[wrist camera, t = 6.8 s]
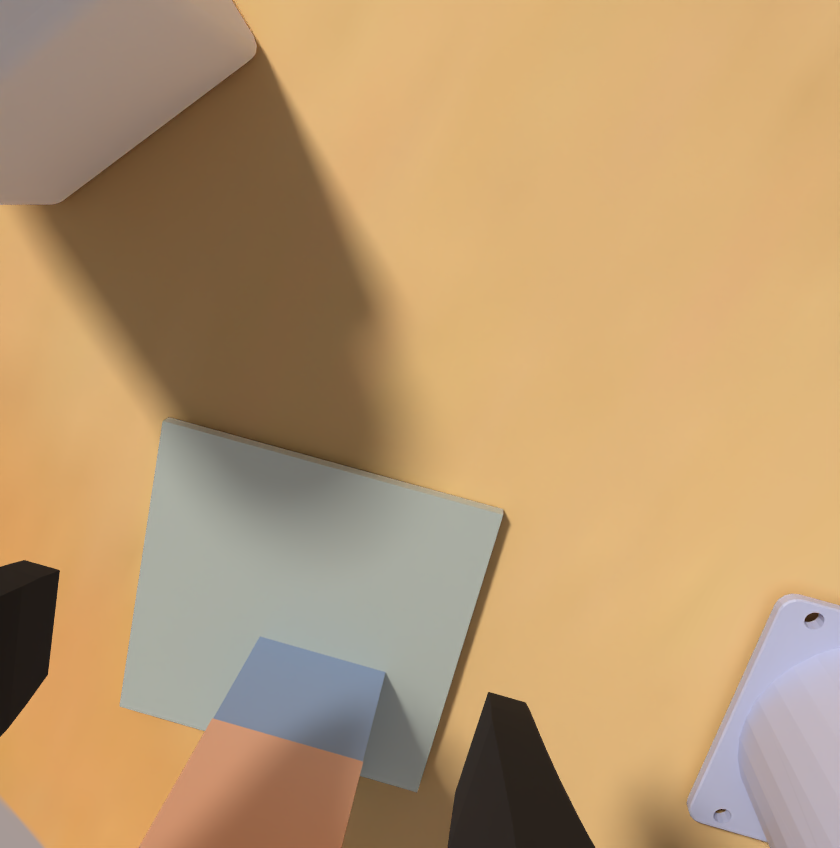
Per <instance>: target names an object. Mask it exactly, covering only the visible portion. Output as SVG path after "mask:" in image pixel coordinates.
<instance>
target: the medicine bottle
mask: <svg viewBox="0 0 840 848" xmlns="http://www.w3.org/2000/svg"><path fill="white" fill-rule="evenodd" d="M256 49H257V45H256V42H255V38H254V36H253V34H252V32H251V31H250V29H249V28H248V26H247V24H246V23H245V21H244V19H243V18H242V16H241V14H240V13H239V11H238V10H237V8H236V6H235V5H234V3H233V1H232V0H0V205H54V204H57V203H60V202H62V201H63V200H65V199H66V198H67V197H69V196H70V195H71V194H73V193H74V192H75V191H77V190H78V189H79V188H81V187H82V186H83V185H85V184H86V183H87V182H89V181H90V180H91V179H93V178H94V177H95V176H97V175H98V174H99V173H101V172H102V171H103V170H105V169H106V168H107V167H109V166H110V165H111V164H113V163H114V162H115V161H116V160H118V159H119V158H120V157H122V156H123V155H124V154H126V153H127V152H128V151H130V150H131V149H132V148H134V147H135V146H136V145H138V144H139V143H140V142H142V141H143V140H144V139H146V138H147V137H148V136H150V135H151V134H152V133H154V132H155V131H156V130H158V129H159V128H160V127H162V126H163V125H164V124H166V123H167V122H168V121H170V120H171V119H172V118H174V117H175V116H176V115H178V114H179V113H180V112H182V111H183V110H184V109H186V108H187V107H188V106H190V105H191V104H192V103H194V102H195V101H196V100H198V99H199V98H200V97H202V96H203V95H204V94H206V93H207V92H208V91H210V90H211V89H212V88H214V87H215V86H216V85H218V84H219V83H220V82H222V81H223V80H224V79H226V78H227V77H228V76H230V75H231V74H232V73H234V72H235V71H236V70H238V69H239V68H240V67H242V66H243V65H244V64H246V63H247V62H248V61H250V60H251V59H252V58H253V57H254V55H255V54H256Z"/></svg>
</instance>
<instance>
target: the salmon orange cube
mask: <svg viewBox="0 0 840 848" xmlns="http://www.w3.org/2000/svg"><path fill="white" fill-rule="evenodd" d="M362 765H363V761H360V760H356V759H353V758H349V757H346V756H342V755H339V754H335V753H332V752H328V751H325V750H321V749H318V748H314V747H311V746H307V745H304V744H300V743H297V742H293V741H290V740H286V739H283V738H279V737H276V736H273V735H269V734H266V733H262V732H259V731H255V730H252V729H248V728H245V727H241V726H238V725H234V724H231V723H227V722H224V721H220V720H217V719H213V718H212V720H211V721H210V723H209V725H208V727H207V728H206V730H205V732H204V734H203V735H202V737H201V739H200V741H199V742H198V744H197V746H196V748H195V749H194V751H193V753H192V755H191V756H190V758H189V760H188V762H187V764H186V765H185V767H184V769H183V771H182V772H181V774H180V776H179V778H178V779H177V781H176V783H175V785H174V786H173V788H172V790H171V792H170V793H169V795H168V797H167V799H166V800H165V802H164V804H163V806H162V807H161V809H160V811H159V813H158V814H157V816H156V818H155V820H154V821H153V823H152V825H151V827H150V828H149V830H148V832H147V834H146V835H145V837H144V839H143V841H142V842H141V844H140V846H139V848H341V847H342V843H343V840H344V836H345V832H346V828H347V824H348V820H349V816H350V812H351V808H352V804H353V800H354V796H355V792H356V788H357V784H358V781H359V777H360V773H361V769H362Z"/></svg>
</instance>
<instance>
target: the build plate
mask: <svg viewBox="0 0 840 848" xmlns="http://www.w3.org/2000/svg"><path fill="white" fill-rule="evenodd" d="M502 517H503V509H500V508H497V507H493V506H489V505H486V504H482V503H479V502H475V501H471V500H468V499H464V498H460V497H457V496H453V495H450V494H446V493H442V492H439V491H435V490H431V489H428V488H424V487H421V486H417V485H413V484H410V483H406V482H402V481H399V480H395V479H392V478H388V477H384V476H381V475H377V474H373V473H370V472H366V471H363V470H359V469H355V468H352V467H348V466H344V465H341V464H337V463H334V462H330V461H326V460H323V459H319V458H315V457H312V456H308V455H304V454H301V453H297V452H294V451H290V450H286V449H283V448H279V447H275V446H272V445H268V444H265V443H261V442H257V441H254V440H250V439H246V438H243V437H239V436H236V435H232V434H228V433H225V432H221V431H217V430H214V429H210V428H207V427H203V426H199V425H196V424H192V423H188V422H185V421H181V420H178V419H174V418H170V417H168V418H167V419H165V420H163V423H162V429H161V436H160V443H159V449H158V456H157V462H156V469H155V476H154V482H153V489H152V495H151V502H150V509H149V515H148V522H147V528H146V535H145V542H144V548H143V555H142V561H141V568H140V575H139V581H138V588H137V595H136V601H135V608H134V614H133V621H132V628H131V634H130V641H129V647H128V654H127V661H126V667H125V674H124V680H123V687H122V694H121V700H120V707H123V708H127V709H130V710H134V711H137V712H141V713H144V714H148V715H151V716H155V717H158V718H161V719H165V720H168V721H172V722H175V723H179V724H182V725H186V726H189V727H193V728H196V729H199V730H203V731H205V730H206V728H207V727H208V725H209V723H210V721H211V720H212V718H214V716H215V714H216V713H217V711H218V709H219V707H220V706H221V704H222V702H223V700H224V699H225V697H226V695H227V693H228V691H229V690H230V688H231V686H232V684H233V683H234V681H235V679H236V677H237V676H238V674H239V672H240V670H241V669H242V667H243V665H244V663H245V662H246V660H247V658H248V656H249V655H250V653H251V651H252V649H253V647H254V646H255V644H256V642H257V640H258V639H259V637H264V638H267V639H271V640H274V641H278V642H281V643H285V644H288V645H292V646H295V647H299V648H302V649H306V650H310V651H313V652H317V653H320V654H324V655H327V656H331V657H334V658H338V659H341V660H345V661H348V662H352V663H355V664H359V665H362V666H366V667H369V668H373V669H376V670H380V671H383V672H385V676H384V680H383V684H382V688H381V692H380V696H379V700H378V704H377V707H376V711H375V715H374V719H373V723H372V727H371V731H370V735H369V739H368V743H367V747H366V751H365V754H364V758H363V765H362V769H361V773H360V776H362V777H365V778H369V779H372V780H376V781H379V782H383V783H386V784H390V785H393V786H396V787H400V788H403V789H407V790H410V791H414V792H417V791H418V788H419V785H420V782H421V779H422V775H423V772H424V769H425V766H426V762H427V759H428V756H429V753H430V750H431V746H432V743H433V740H434V737H435V733H436V730H437V727H438V724H439V721H440V717H441V714H442V711H443V708H444V704H445V701H446V698H447V695H448V692H449V688H450V685H451V682H452V679H453V675H454V672H455V669H456V666H457V662H458V659H459V656H460V653H461V650H462V646H463V643H464V640H465V637H466V633H467V630H468V627H469V624H470V621H471V617H472V614H473V611H474V608H475V604H476V601H477V598H478V595H479V592H480V588H481V585H482V582H483V579H484V575H485V572H486V569H487V566H488V562H489V559H490V556H491V553H492V550H493V546H494V543H495V540H496V537H497V533H498V530H499V527H500V524H501V521H502Z"/></svg>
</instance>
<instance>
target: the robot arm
mask: <svg viewBox="0 0 840 848" xmlns="http://www.w3.org/2000/svg"><path fill="white" fill-rule="evenodd" d="M59 572H60V570H57V569H54V568H50V567H47V566H43V565H40V564H36V563H32V562H29V561H25V560H23V561H20V562H16V563H12V564H8V565H5V566H2V567H0V736H1V735H2V734H3V733H4V732H5V731H6V730H7V729H8V728H9V726H10V725H11V724H12V722H13V721H14V720H15V719H16V717H17V716H18V715H19V713H20V712H21V711H22V709H23V708H24V707H25V706H26V704H27V703H28V701H29V700H30V699H31V697H32V696H33V694H34V693H35V692H36V690H37V689H38V688H39V686H40V685H41V683H42V682H43V681H44V679H45V678H46V676H47V675H48V668H49V660H50V651H51V642H52V634H53V625H54V616H55V607H56V599H57V590H58V581H59ZM811 613H819V614H818V617H817V618H816V619H815V620H813V621H811V622H805V618H806V616H807V615H808V614H811ZM687 806H688V810H689V813H690V816H691V817H692V818H693V819H694V820H695V821H697V822H699V823H702V824H706V825H709V826H713V827H716V828H720V829H723V830H727V831H730V832H734V833H737V834H741V835H744V836H748V837H751V838H755V839H758V840H762V841H765V842H768V844H769V847H770V848H840V605H836V604H832V603H829V602H825V601H821V600H818V599H814V598H811V597H807V596H803V595H800V594H788V595H784V596H783V597H781V598H780V599H778V601H777V602H776V603H775V605H774V607H773V609H772V611H771V614H770V616H769V618H768V620H767V623H766V625H765V627H764V629H763V631H762V634H761V636H760V638H759V640H758V643H757V645H756V647H755V649H754V651H753V654H752V656H751V658H750V660H749V663H748V665H747V667H746V669H745V672H744V674H743V676H742V678H741V680H740V683H739V685H738V687H737V689H736V692H735V694H734V696H733V698H732V700H731V703H730V705H729V707H728V709H727V712H726V714H725V716H724V718H723V720H722V723H721V725H720V727H719V729H718V732H717V734H716V736H715V738H714V740H713V743H712V745H711V747H710V749H709V752H708V754H707V756H706V758H705V761H704V763H703V765H702V767H701V769H700V772H699V774H698V776H697V778H696V781H695V783H694V785H693V787H692V789H691V792H690V794H689V796H688V798H687ZM719 809H726V811H725V812H722V813H715V812H716V811H717V810H719ZM448 848H595V846H594V844H593V843H592V841H591V839H590V837H589V836H588V834H587V832H586V830H585V828H584V826H583V824H582V823H581V821H580V819H579V817H578V815H577V813H576V811H575V809H574V807H573V805H572V803H571V801H570V799H569V797H568V795H567V793H566V791H565V789H564V787H563V785H562V783H561V781H560V779H559V776H558V774H557V772H556V770H555V768H554V766H553V763H552V761H551V759H550V757H549V754H548V752H547V750H546V748H545V745H544V743H543V741H542V738H541V736H540V734H539V731H538V729H537V726H536V724H535V722H534V719H533V717H532V714H531V712H530V710H529V708H528V706H527V704H526V703H525V702H522V701H518V700H515V699H511V698H508V697H504V696H501V695H497V694H494V693H490V692H488V695H487V698H486V701H485V704H484V707H483V710H482V713H481V716H480V719H479V722H478V725H477V728H476V731H475V734H474V737H473V740H472V743H471V746H470V749H469V752H468V755H467V758H466V761H465V764H464V767H463V770H462V774H461V777H460V780H459V783H458V786H457V789H456V792H455V798H454V805H453V812H452V819H451V826H450V833H449V841H448Z"/></svg>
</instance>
